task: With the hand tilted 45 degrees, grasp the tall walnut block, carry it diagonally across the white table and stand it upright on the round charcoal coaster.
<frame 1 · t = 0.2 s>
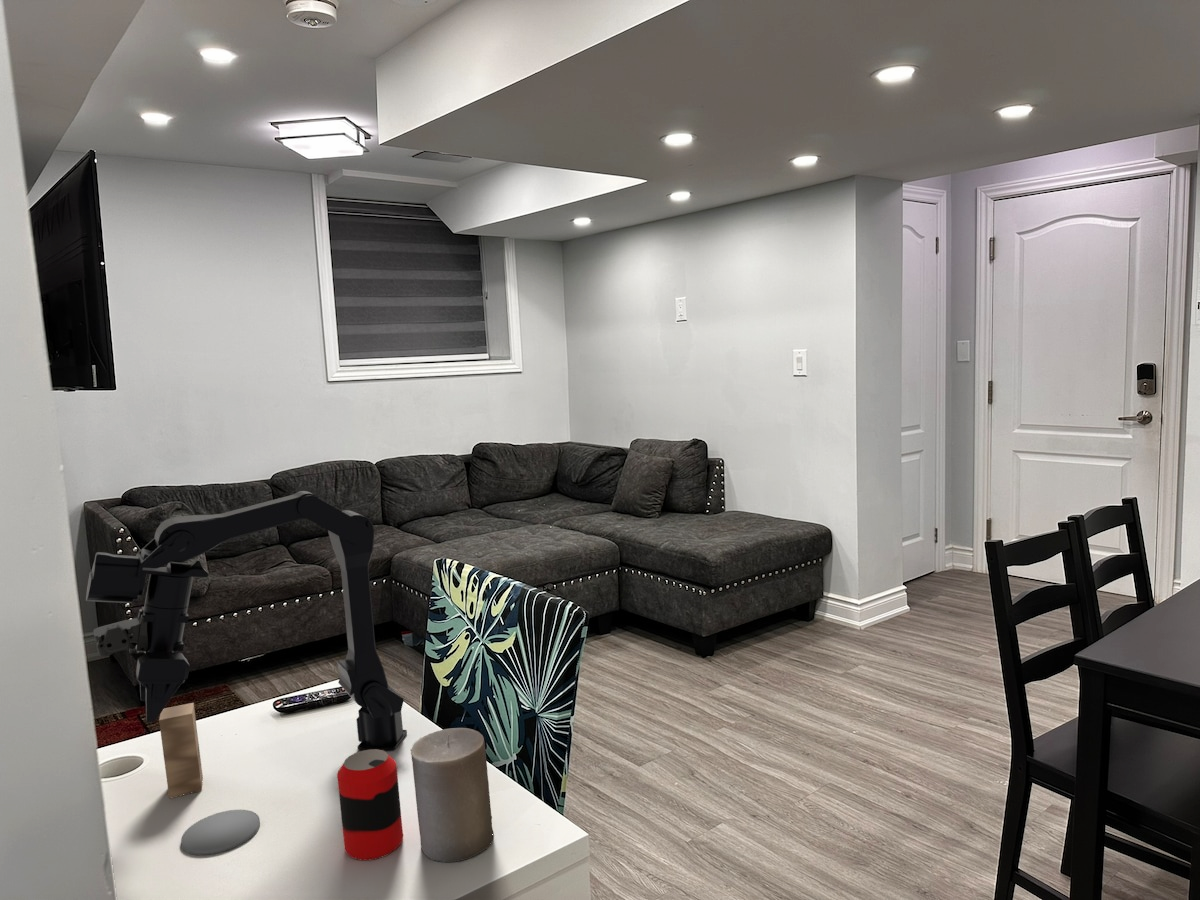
hand: (147, 710, 122), 15 cm above the table, tool tilted 15°, fingers open, 9 cm apart
walnut block: (186, 787, 130), on the table
charcoal coaster: (221, 833, 117), on the table
soda can: (374, 845, 112), on the table
pillar candle: (456, 842, 112), on the table
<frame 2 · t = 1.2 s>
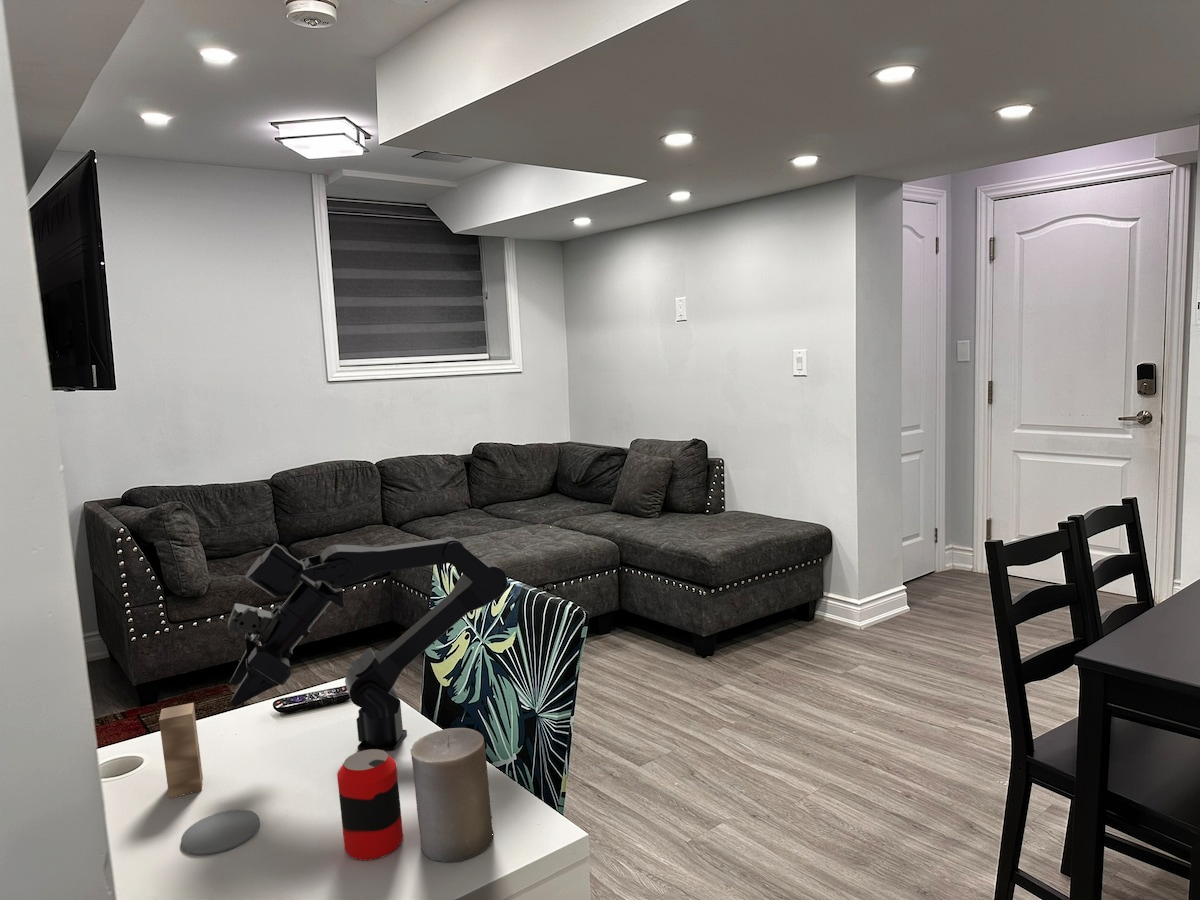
hand: (232, 694, 132), 13 cm above the table, tool tilted 45°, fingers open, 9 cm apart
nothing on the table moved.
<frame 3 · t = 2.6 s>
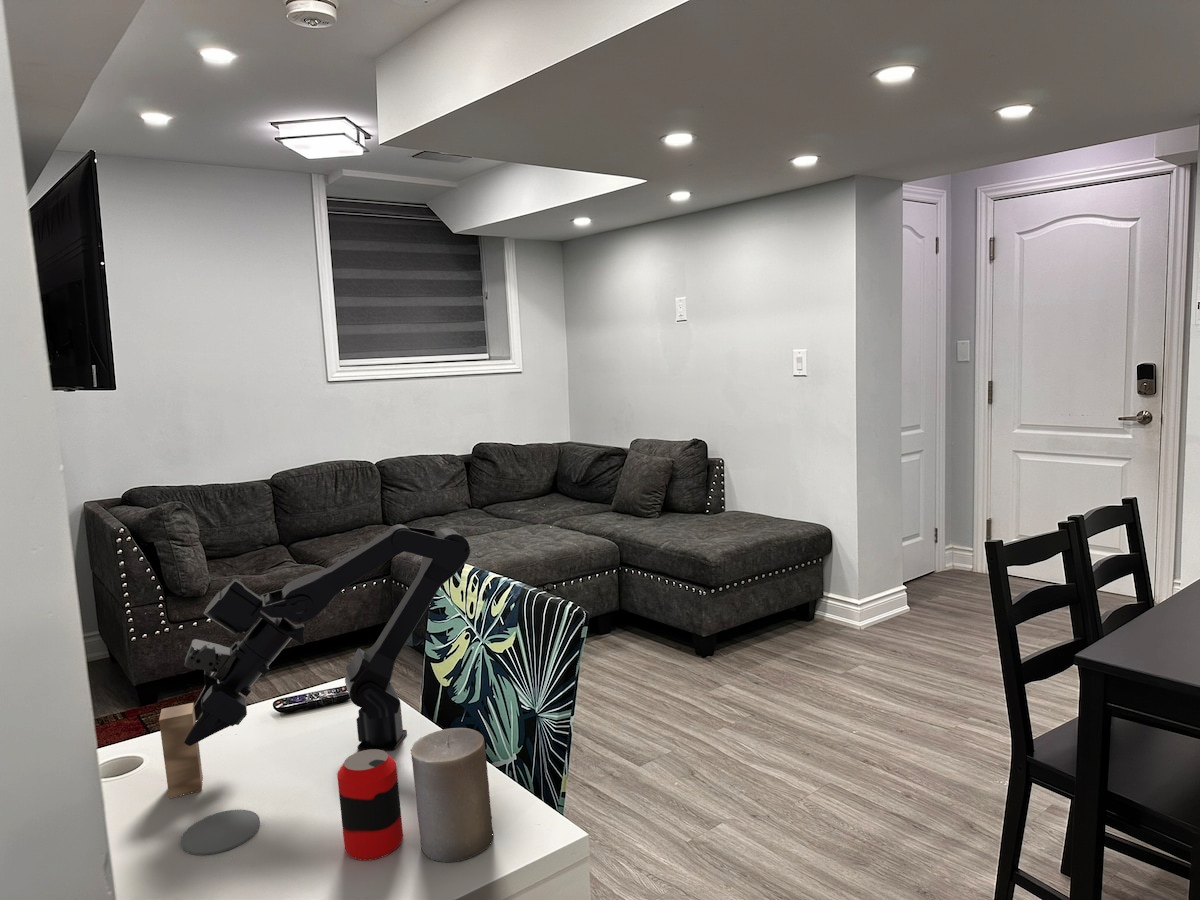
hand: (188, 732, 130), 9 cm above the table, tool tilted 45°, fingers open, 9 cm apart
nothing on the table moved.
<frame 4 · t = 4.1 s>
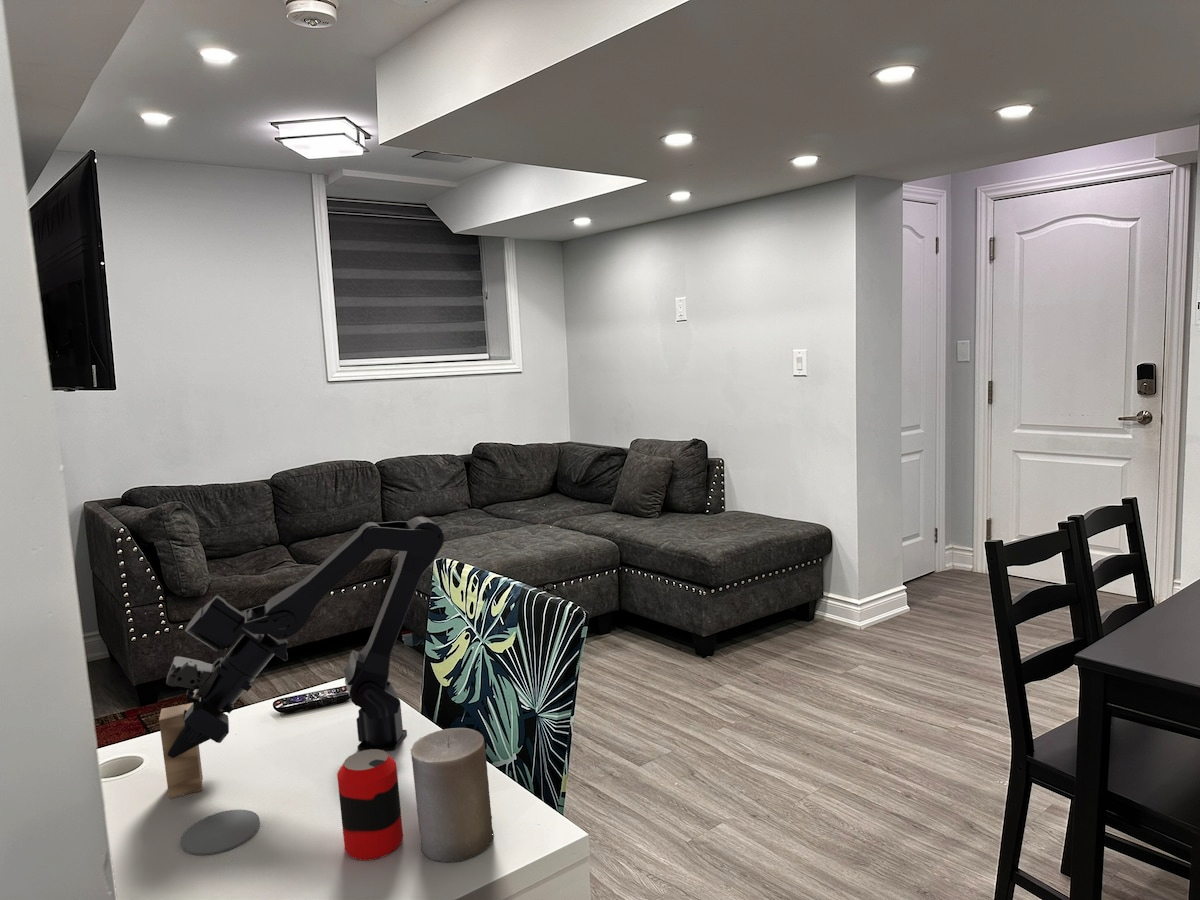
hand: (171, 749, 129), 7 cm above the table, tool tilted 45°, fingers closed on walnut block, 4 cm apart
walnut block: (186, 787, 130), on the table, touching gripper
everything else where it was.
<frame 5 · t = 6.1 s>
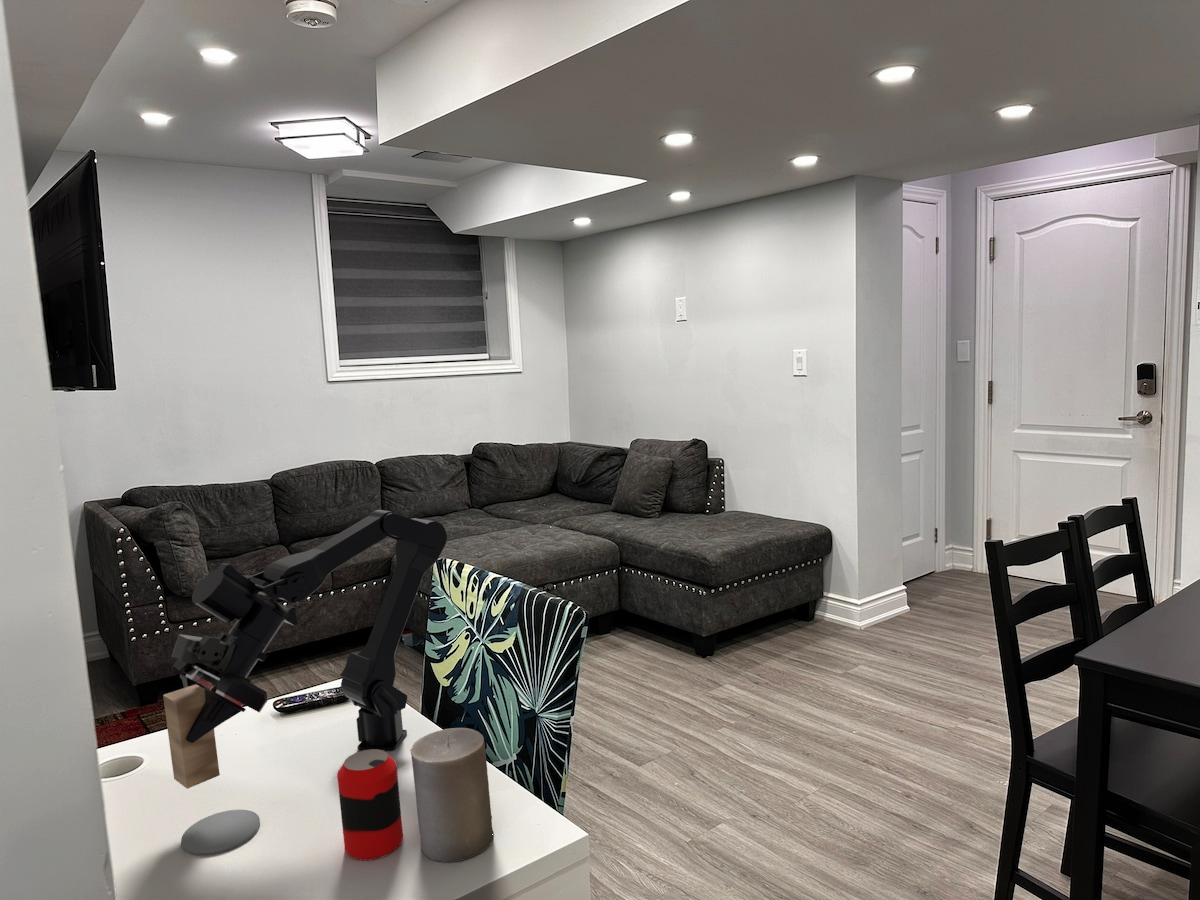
hand: (181, 736, 117), 13 cm above the table, tool tilted 45°, fingers closed on walnut block, 4 cm apart
walnut block: (196, 777, 119), point 7 cm above the table, touching gripper
everything else where it was.
when the fingers open (8 cm above the table, at t = 8.0 s): walnut block drops 1 cm, resting on charcoal coaster.
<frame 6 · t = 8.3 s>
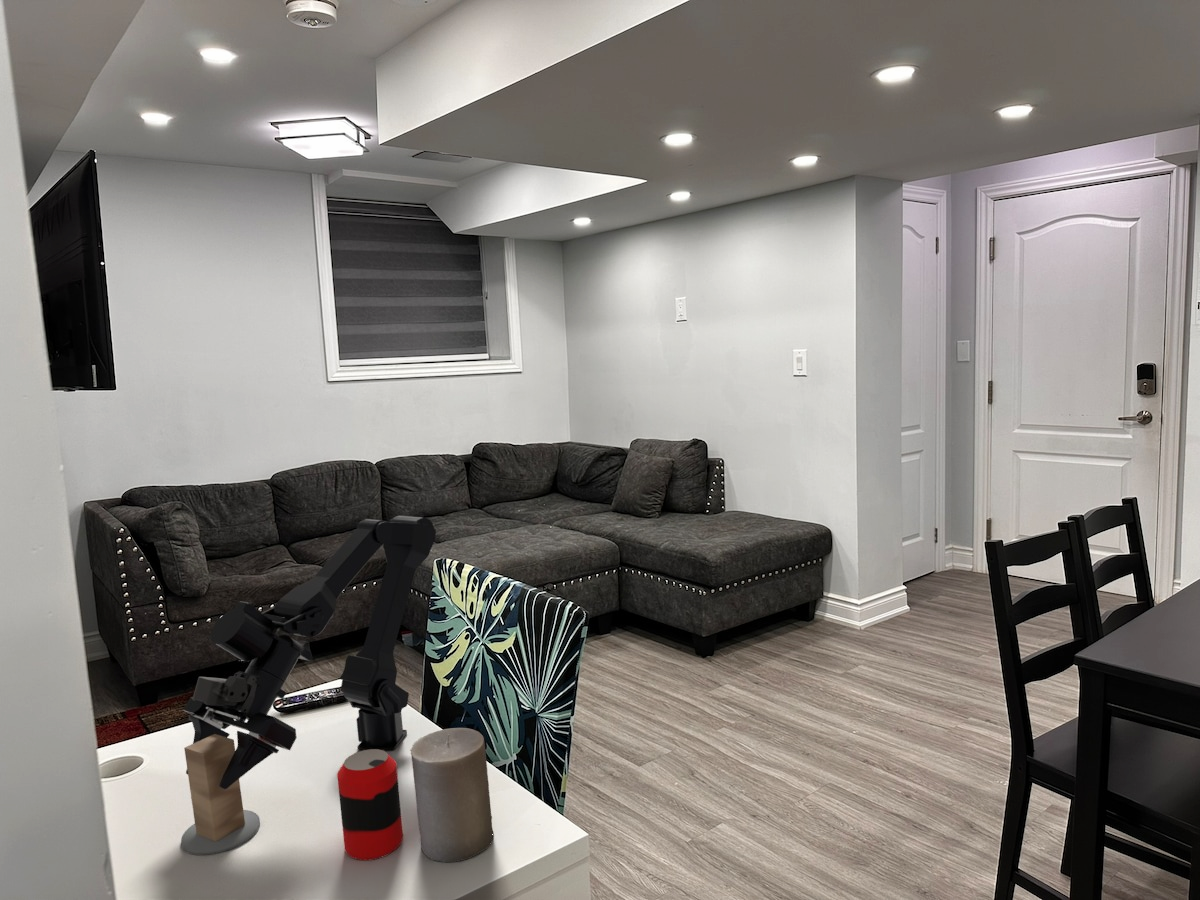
hand: (205, 781, 115), 8 cm above the table, tool tilted 45°, fingers open, 7 cm apart
walnut block: (220, 829, 117), point 1 cm above the table, touching charcoal coaster
everything else where it was.
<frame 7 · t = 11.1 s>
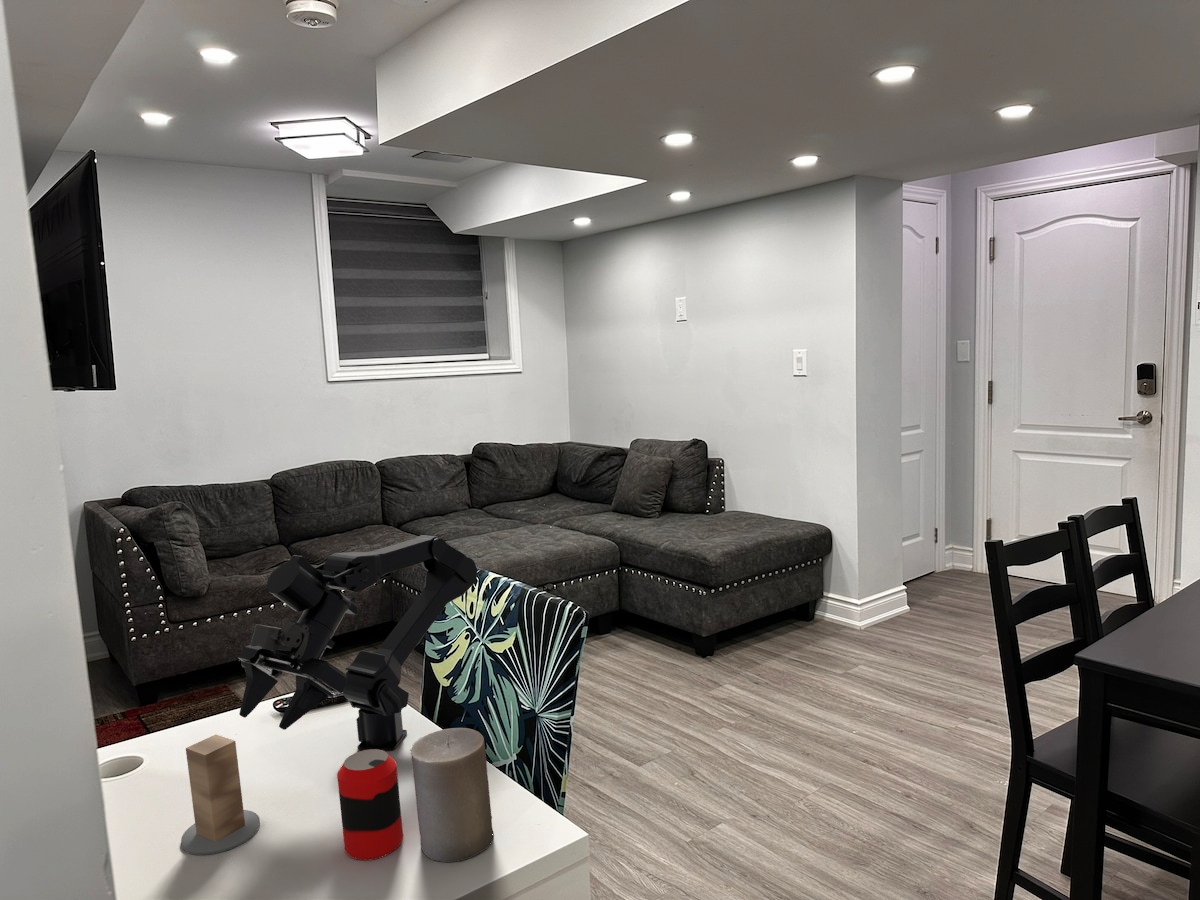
hand: (261, 722, 122), 13 cm above the table, tool tilted 45°, fingers open, 9 cm apart
nothing on the table moved.
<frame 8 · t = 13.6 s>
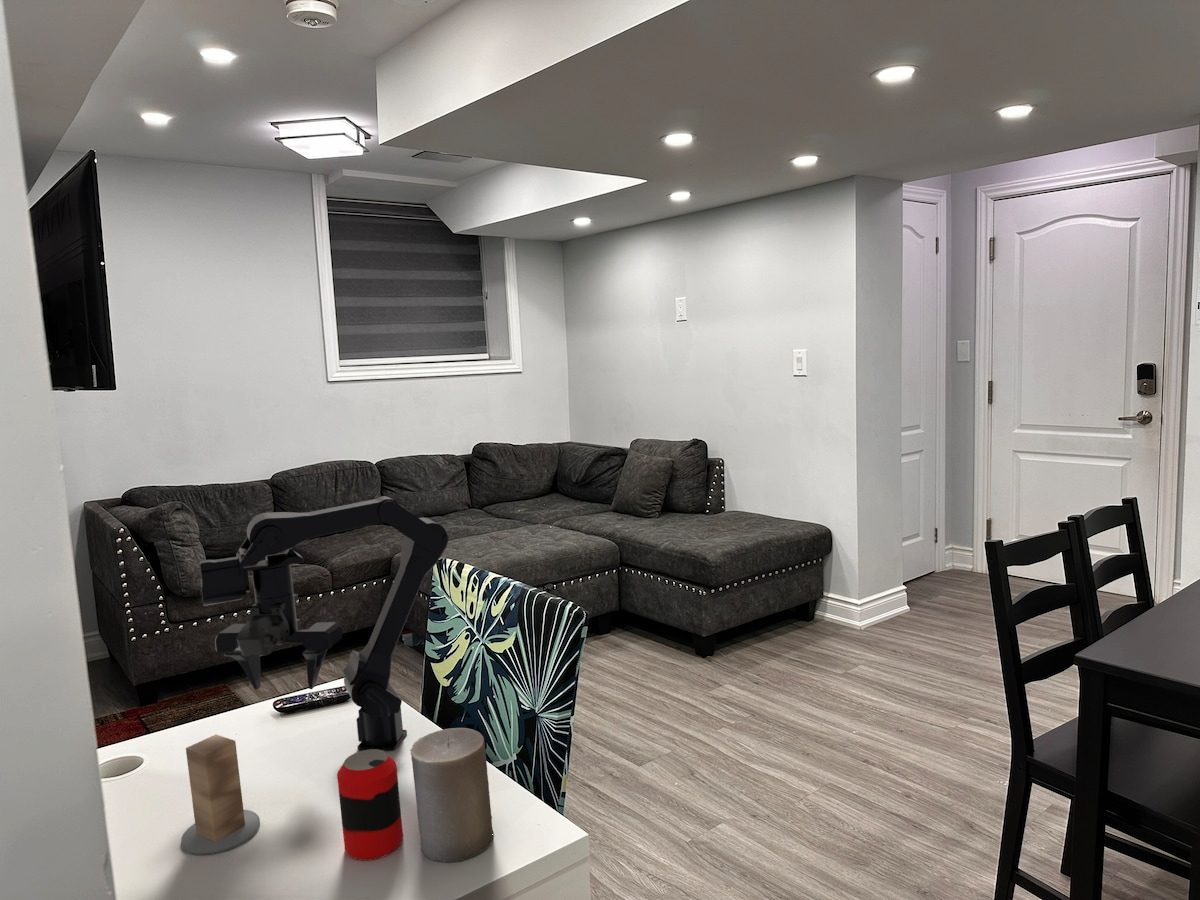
hand: (284, 688, 134), 13 cm above the table, tool pointing down, fingers open, 9 cm apart
nothing on the table moved.
at the end: walnut block 0.0 cm off-centre on the charcoal coaster, point 0.6 cm above the charcoal coaster's base; walnut block tilted 0°; the gripper is holding nothing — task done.
